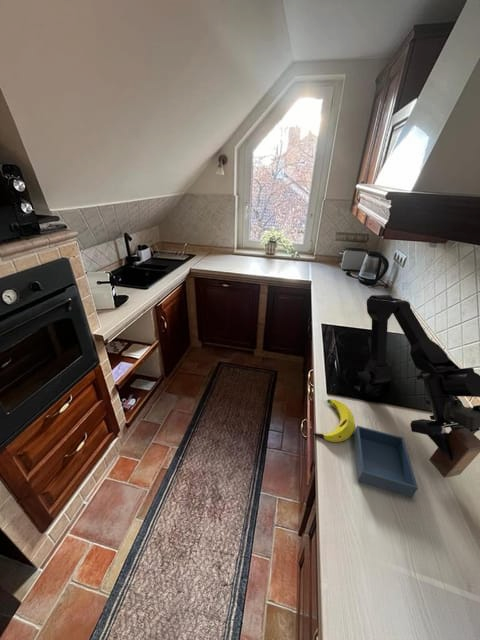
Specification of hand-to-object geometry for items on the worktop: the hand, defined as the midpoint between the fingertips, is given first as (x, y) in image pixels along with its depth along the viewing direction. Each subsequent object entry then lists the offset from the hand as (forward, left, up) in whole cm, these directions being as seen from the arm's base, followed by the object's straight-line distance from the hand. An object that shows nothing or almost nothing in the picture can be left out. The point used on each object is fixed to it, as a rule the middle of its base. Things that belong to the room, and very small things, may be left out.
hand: (458, 458), depth 65 cm
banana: (-26, -17, -11) cm, 33 cm away
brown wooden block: (-1, 0, -6) cm, 6 cm away
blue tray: (-10, -13, -11) cm, 19 cm away
